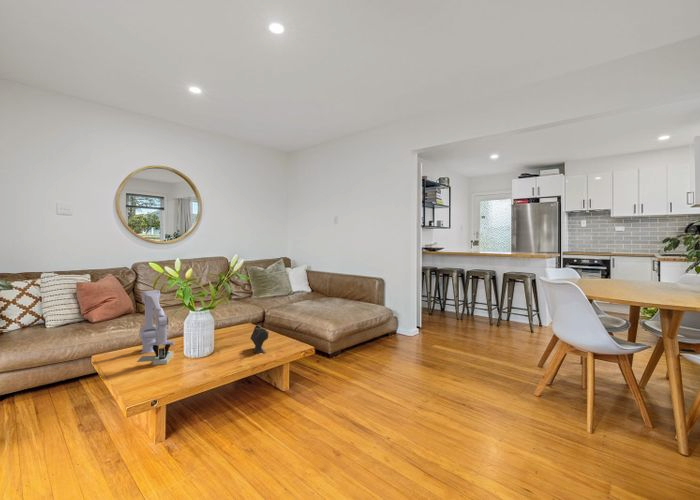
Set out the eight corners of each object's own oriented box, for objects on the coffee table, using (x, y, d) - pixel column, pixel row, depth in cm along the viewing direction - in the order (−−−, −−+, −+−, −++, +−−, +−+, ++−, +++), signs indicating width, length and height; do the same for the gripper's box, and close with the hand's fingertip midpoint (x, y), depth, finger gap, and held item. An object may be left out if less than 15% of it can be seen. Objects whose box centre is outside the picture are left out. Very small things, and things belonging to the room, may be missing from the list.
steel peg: (159, 361, 212) (159, 348, 212) (164, 361, 213) (164, 347, 213) (158, 363, 209) (158, 349, 209) (163, 363, 210) (163, 349, 210)
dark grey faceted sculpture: (272, 346, 247) (272, 322, 246) (265, 353, 232) (265, 328, 231) (253, 345, 248) (254, 321, 247) (245, 352, 233) (245, 327, 232)
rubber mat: (141, 356, 220) (141, 356, 220) (158, 355, 222) (158, 355, 222) (136, 362, 210) (136, 361, 210) (154, 361, 213) (154, 360, 213)
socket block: (160, 356, 222) (160, 351, 222) (173, 355, 224) (173, 351, 224) (152, 365, 206) (152, 360, 206) (166, 364, 208) (166, 359, 208)
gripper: (146, 338, 205) (146, 359, 205) (172, 336, 209) (172, 358, 209) (150, 334, 211) (150, 355, 212) (175, 333, 215) (175, 354, 216)
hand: (161, 356), depth 211 cm, fingers open, 4 cm apart
